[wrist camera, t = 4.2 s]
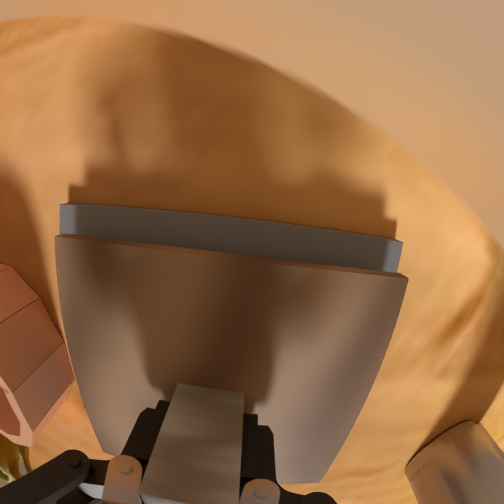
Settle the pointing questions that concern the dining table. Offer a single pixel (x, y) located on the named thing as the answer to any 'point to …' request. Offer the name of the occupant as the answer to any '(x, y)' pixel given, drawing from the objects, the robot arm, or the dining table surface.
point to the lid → (221, 356)
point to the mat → (232, 235)
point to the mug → (12, 459)
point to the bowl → (29, 362)
